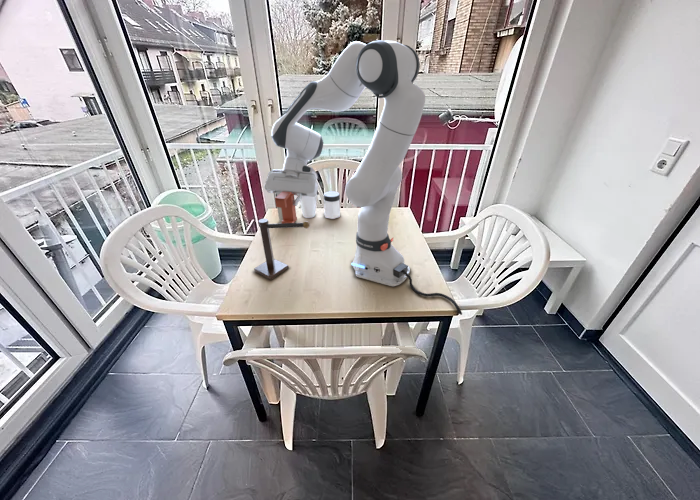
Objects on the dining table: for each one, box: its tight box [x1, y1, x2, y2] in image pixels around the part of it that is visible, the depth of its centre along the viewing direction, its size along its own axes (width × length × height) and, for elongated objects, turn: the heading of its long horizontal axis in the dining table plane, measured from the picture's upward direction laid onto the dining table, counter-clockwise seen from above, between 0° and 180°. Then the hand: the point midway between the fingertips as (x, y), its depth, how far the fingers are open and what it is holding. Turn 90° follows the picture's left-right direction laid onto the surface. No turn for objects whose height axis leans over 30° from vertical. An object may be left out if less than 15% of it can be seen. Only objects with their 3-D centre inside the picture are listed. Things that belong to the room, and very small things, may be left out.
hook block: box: [274, 191, 298, 223], centre depth 106 cm, size 8×4×12 cm, turn 168°
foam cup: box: [299, 194, 318, 219], centre depth 147 cm, size 10×9×13 cm
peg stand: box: [253, 218, 311, 281], centre depth 104 cm, size 22×13×21 cm, turn 95°
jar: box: [323, 190, 341, 220], centre depth 147 cm, size 9×8×12 cm
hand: (287, 204), depth 107 cm, fingers closed on hook block, 4 cm apart
